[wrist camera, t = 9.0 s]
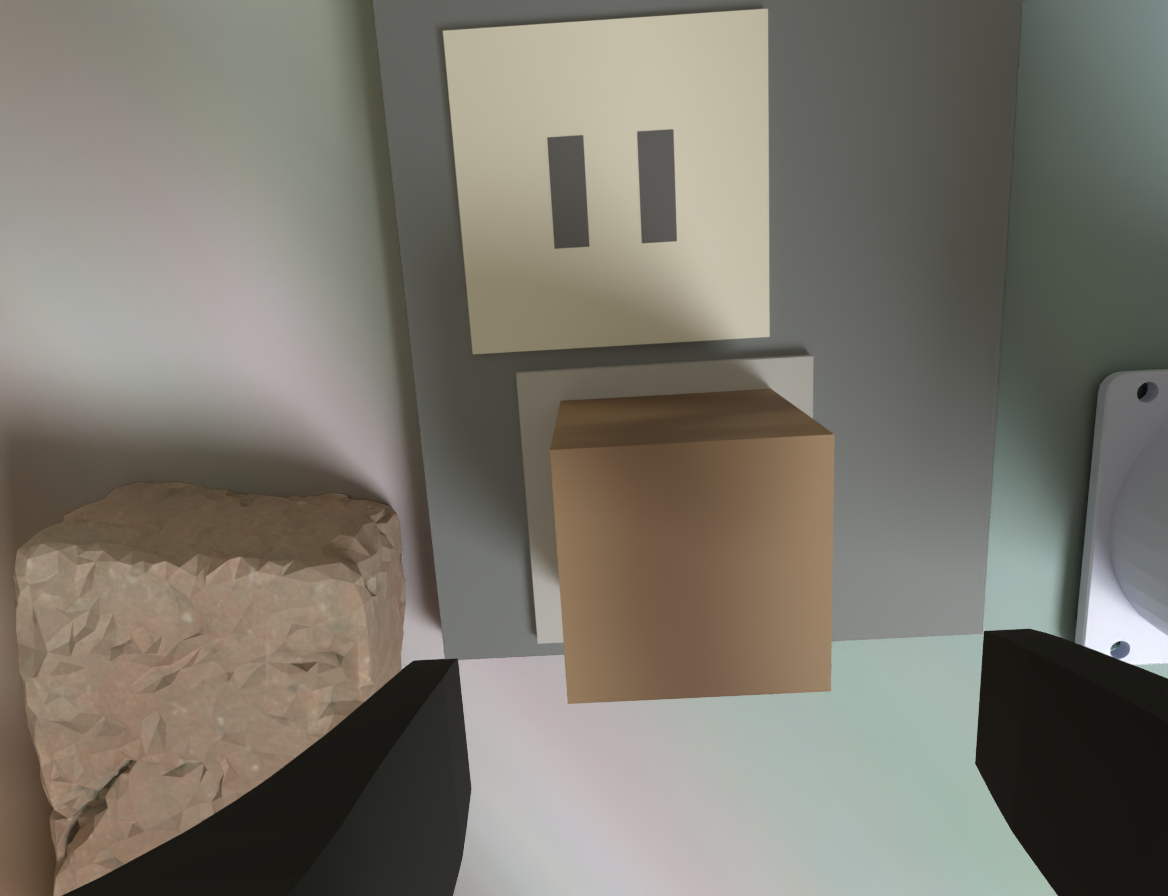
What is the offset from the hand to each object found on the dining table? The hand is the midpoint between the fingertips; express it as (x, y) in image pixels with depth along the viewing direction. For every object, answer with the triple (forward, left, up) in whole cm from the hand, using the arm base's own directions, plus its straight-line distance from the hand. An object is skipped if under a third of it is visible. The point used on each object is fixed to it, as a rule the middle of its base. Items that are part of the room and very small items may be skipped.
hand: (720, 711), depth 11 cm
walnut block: (0, 0, -9) cm, 9 cm away
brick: (+12, +8, -11) cm, 18 cm away
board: (-1, -8, -10) cm, 13 cm away
